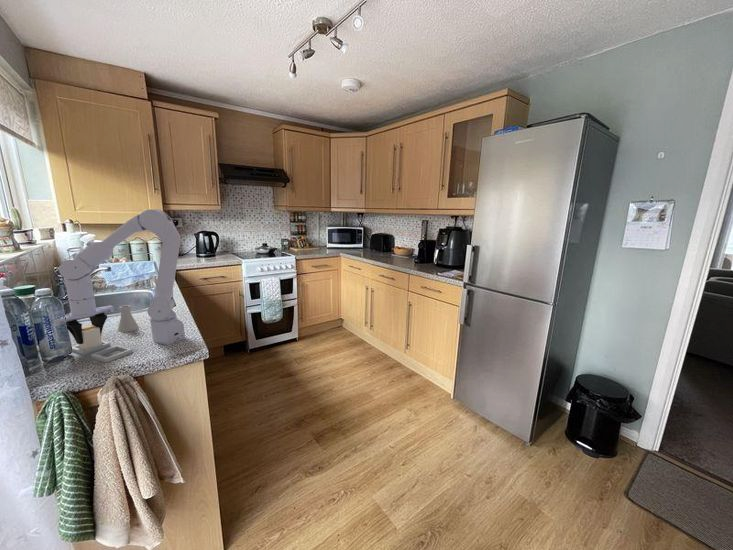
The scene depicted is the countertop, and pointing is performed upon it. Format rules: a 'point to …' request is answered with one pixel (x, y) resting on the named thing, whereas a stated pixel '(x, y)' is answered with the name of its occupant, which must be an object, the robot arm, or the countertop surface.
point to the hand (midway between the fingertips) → (89, 340)
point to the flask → (126, 320)
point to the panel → (101, 352)
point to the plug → (90, 337)
